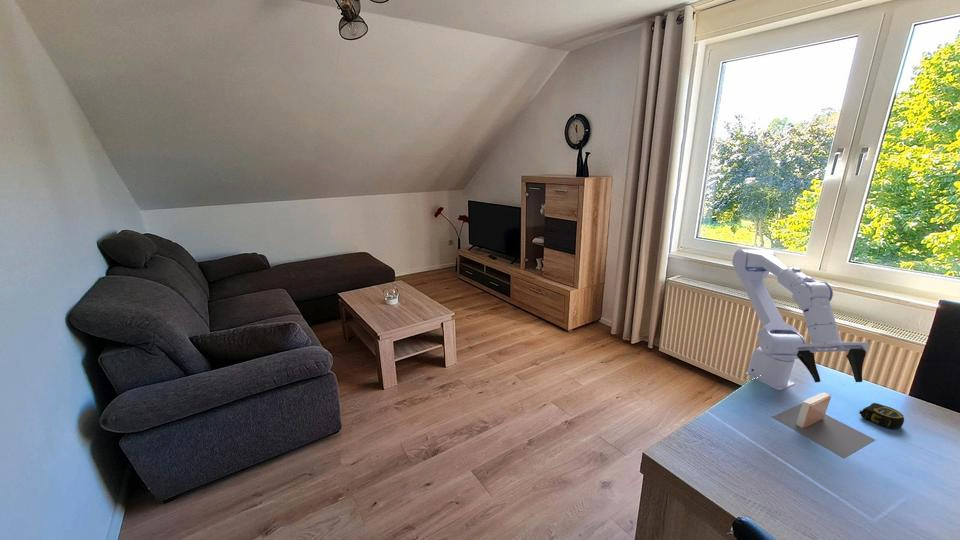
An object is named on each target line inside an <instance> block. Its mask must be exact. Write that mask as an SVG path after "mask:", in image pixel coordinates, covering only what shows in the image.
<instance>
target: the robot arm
mask: <svg viewBox="0 0 960 540" xmlns="http://www.w3.org/2000/svg"><path fill="white" fill-rule="evenodd" d="M731 264H732V266H733V268H734V271H735V273H736V274H737V277H738V278H739V279H740V283H741V284H742V287H743V289H744V290H745V293H746V295H747V298H748V299H749V300H750V303H751V306H752V307H753V309H754V311H755V314H756V315H757V317H758V319H759V322H760V324H761V326H762V327H761V328H760V329H759V330H758V331H757V334H756V336H757V338H758V344H759V346H758V347H757V348H755V350H754V351H753V353H752V355H751V359H750V361H749V364H748V369H747V372H745V375H747V376H750V377H751V378H753V379H755V378H757V377H758V378H757V379H756V380H757V381H759V382H762V383H763V384H765V385H767V386H769V387H771V388H773V389H775V390H777V391H782V390H784V389H786V388H789V387H791V386H793V385H795V382H794V381H792V380H790V377H791V374H792V370H793V367H794V364H795V361H796V360H799V361H800V362H802V364H803V365H804V367H805V368H806V369H807V370H808V372H809V373H810V375H811V376H812V377H811V378H813V382H814V383H820V382H821V378H820V374H819V371H818V368H817V365H816V360H815V353H830V352H831V353H833V352H847V354H846V355H845V356H846V359H847V360H848V363H849V365H850V368H851V371H852V376H853V379H854V382H855V383H861V382H863V365H864V361H865V357H866V354H867V351H870V347H869V344H868V341H842V338H841V334H840V331H839V329H838V325H837V322H836V319H835V315H834V312H833V308H832V305H831V301H832V300H833V297H834V293H833V292H834V291H833V287H832V286H831V285H830V284H829V283H828V282H826V281H818V280H817V281H816V280H814V278H813V277H812V276H809V275H807V274H806V273H804V272H802V269H801V268H799V267H788V266H786V265H785V264H784V263H783V262H782V261H780V260H779V259H778V258H777V257H776V253H775V252H773V251H772V250H770V249H743V248H739V249H737V250H736V251H735V252H734V254H733V256H732V263H731ZM769 273H770V274H772V275H773V276H776V278H777V282H778V283H779V284H780V285H781V286H782V287H784V288H785V289H786V290H787V291H789V292H790V293H791V294H792V295H791V298H792V299H793V301H794V302H795V303H796V305H798V308H799V310H801V311H802V315H803V316H804V317H803V318H804V321H805V325H806V328H807V331H808V335H809V340H810V343H808V342H807V341H806V339H805V337H804V336H803V335H802V334H801V333H799V331H798V330H797V328H796V327H794V326H793V325H791V324H789V323H787V322H785V320H784V319H783V317H782V315H781V314H780V312H779V309H778V308H777V306H776V303H775V302H774V301H773V299H772V297H771V294H770V293H769V290H768V288H767V287H766V285H765V283H764V281H763V280H764V279H766V278H768V277H769ZM760 375H761V376H760Z"/></svg>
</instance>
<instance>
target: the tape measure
mask: <svg viewBox="0 0 960 540" xmlns="http://www.w3.org/2000/svg"><path fill="white" fill-rule="evenodd" d="M858 413H859V415H860V416H861V417H862V419H865V420H867V421H870V422H872V423H874V424H876V425H878V426H879V427H883V428H887V429H892V430H897V429H900V428H902V426H903V425H904V422H905V417H904V415H903V414H902V413H901V412H900V411H899V410H897V409H895V408H893V407H891V406H887V405H883V404H880V403H877V402H872V403H871V404H870V405H869V406H866V407H865V408H863V409H862V410H861V409H859V412H858Z"/></svg>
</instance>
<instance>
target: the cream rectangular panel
mask: <svg viewBox="0 0 960 540" xmlns="http://www.w3.org/2000/svg"><path fill="white" fill-rule="evenodd" d="M831 398H832V396H831V394H829V393H827V392H820V393H818V394H816V395H814V396H811V397H809V398H807V399H804V400H802V403H803V404H802V403H801V404H802V407H801V410H800V413H799V416H798V419H797V422H796V425H798V426H800V427H801V428H803V427H804V428H805V427H807V426H809V425H811V424H813V423H815V422H817V421H819V420H821V419H824V416H825V414H827V409H828V407H829V405H830V402H831Z"/></svg>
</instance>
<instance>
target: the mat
mask: <svg viewBox="0 0 960 540" xmlns="http://www.w3.org/2000/svg"><path fill="white" fill-rule="evenodd" d="M802 404H803V402H801V403H800V404H797V405H794V406H793V407H791V408H789V409H786V410H784V411H781V412H779V413H777V414H774V415H773V416H771V418H773V419H775V420H776V421H778V422H780V423H781V424H783V425H785V426H787V427H789V428H790V429H792V430H794V431H795V432H797V433H799V434H800V435H803V436H804V437H805V438H808V439H810V440H811V441H813V442H814V443H816V444H818V445H820V446H822V447H823V448H825V449H827V450H828V451H831V452H832V453H834V454H836V455H837V456H839V457H841V458H842V459H846V458H847V457H849V456H851V455H852V454H854V453H856V452H858V451H860V450H861V449H864V447H866V446H868V445H870V444H872V443H873V442H874V441H876V439H875V438H873V437H870V436H869V435H867V434H865V433H863V432H860V431H859V430H857V429H855V428H853V427H852V426H849V425H847V424H845V423H844V422H842V421H839V420H838V419H835V418H834V417H832V416H830V415H828V414H827V413H825V416H824V419H821V420H819V421H817V422H815V423H813V424H811V425H809V426H807V427H805V428H804V427H803V428H801V427H800V426H798V425H796V422H797V419H798V416H799V413H800V410H801V407H802Z"/></svg>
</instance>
